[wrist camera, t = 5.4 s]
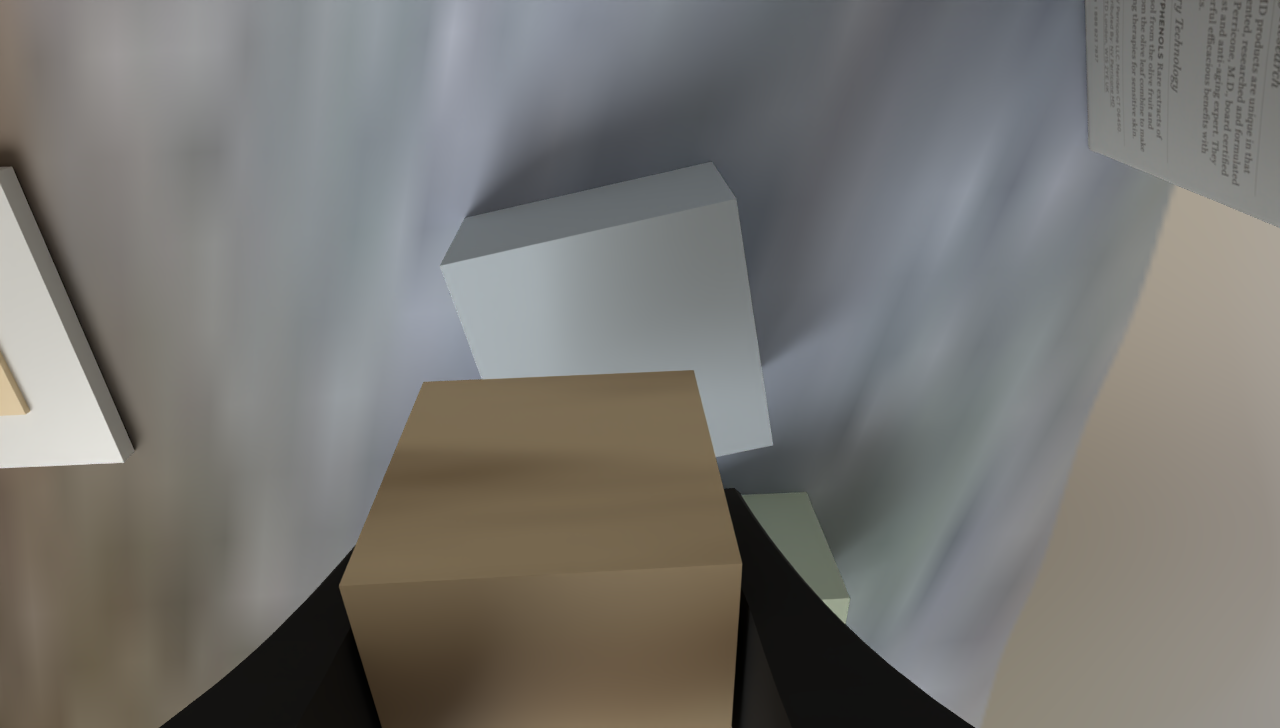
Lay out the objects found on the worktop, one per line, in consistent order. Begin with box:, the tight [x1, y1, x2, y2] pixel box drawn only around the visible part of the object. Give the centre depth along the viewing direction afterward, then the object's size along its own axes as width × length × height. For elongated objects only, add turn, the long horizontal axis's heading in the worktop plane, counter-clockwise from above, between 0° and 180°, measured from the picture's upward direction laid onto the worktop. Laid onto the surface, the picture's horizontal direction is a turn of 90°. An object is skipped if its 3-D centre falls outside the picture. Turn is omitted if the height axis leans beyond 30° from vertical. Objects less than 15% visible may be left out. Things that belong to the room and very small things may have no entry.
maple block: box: [339, 370, 742, 728], centre depth 12 cm, size 5×5×5 cm
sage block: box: [742, 492, 850, 624], centre depth 24 cm, size 5×5×5 cm
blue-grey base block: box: [440, 162, 773, 457], centre depth 20 cm, size 7×7×4 cm
